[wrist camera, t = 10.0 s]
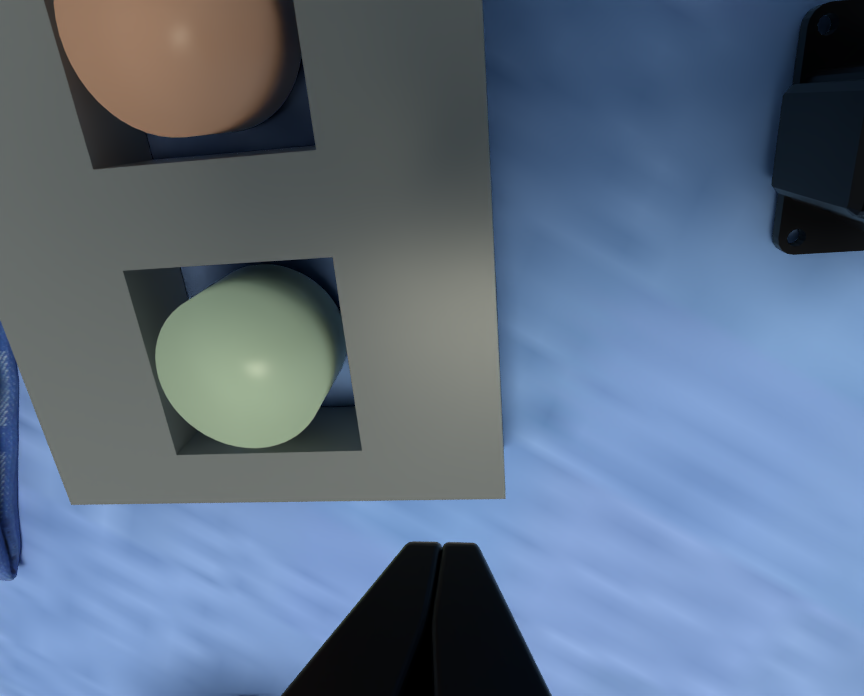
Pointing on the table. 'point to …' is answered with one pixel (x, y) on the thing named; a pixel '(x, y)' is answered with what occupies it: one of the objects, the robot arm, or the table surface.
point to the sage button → (252, 355)
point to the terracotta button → (183, 60)
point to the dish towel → (8, 461)
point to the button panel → (258, 242)
